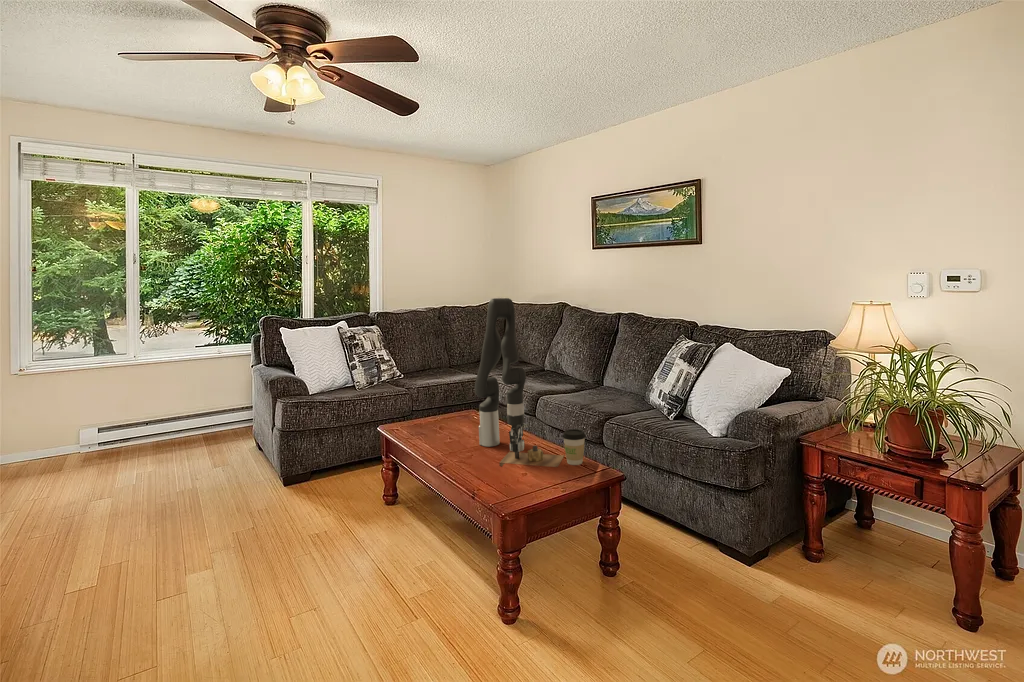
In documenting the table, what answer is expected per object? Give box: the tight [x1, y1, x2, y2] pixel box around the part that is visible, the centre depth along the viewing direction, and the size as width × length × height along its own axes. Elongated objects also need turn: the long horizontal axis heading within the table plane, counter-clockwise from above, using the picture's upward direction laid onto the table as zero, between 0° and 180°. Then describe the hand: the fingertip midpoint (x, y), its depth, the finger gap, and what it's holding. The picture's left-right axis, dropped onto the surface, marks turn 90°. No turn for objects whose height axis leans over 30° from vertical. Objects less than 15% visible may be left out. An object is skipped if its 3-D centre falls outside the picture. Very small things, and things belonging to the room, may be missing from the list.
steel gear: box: [509, 438, 525, 452], centre depth 235 cm, size 6×6×4 cm
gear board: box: [499, 445, 565, 468], centre depth 233 cm, size 26×14×8 cm, turn 72°
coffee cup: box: [562, 428, 587, 466], centre depth 227 cm, size 10×10×15 cm
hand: (517, 449), depth 235 cm, fingers closed on steel gear, 5 cm apart
